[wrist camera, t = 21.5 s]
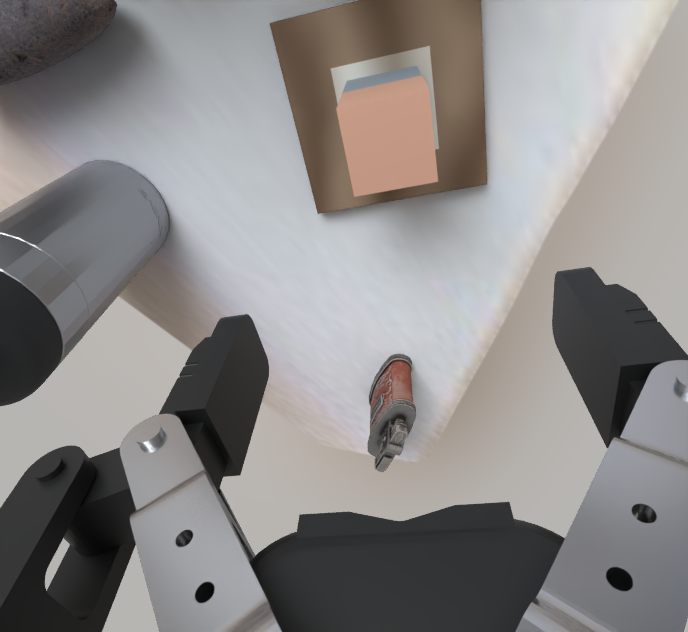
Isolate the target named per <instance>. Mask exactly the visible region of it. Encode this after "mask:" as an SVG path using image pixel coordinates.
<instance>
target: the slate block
mask: <svg viewBox="0 0 688 632" xmlns="http://www.w3.org/2000/svg"><path fill="white" fill-rule="evenodd" d="M416 76H421V74H420V71H419V69H418V67H417V66H413V67H408V68H403V69H399V70H394V71H390V72H385V73H380V74H376V75H371V76H366V77H362V78H357V79H353V80H348V81H347V82H346V85H345V87H344V90H343V93H344V92H349V91H353V90H358V89H362V88H367V87H371V86H376V85H380V84H385V83H389V82H394V81H398V80H403V79H407V78H412V77H416Z"/></svg>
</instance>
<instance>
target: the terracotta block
mask: <svg viewBox="0 0 688 632" xmlns="http://www.w3.org/2000/svg"><path fill="white" fill-rule="evenodd" d="M336 110H337V115H338V120H339V125H340V130H341V135H342V140H343V145H344V149H345V154H346V159H347V164H348V169H349V174H350V179H351V184H352V188H353V193H354V197H357V196H362V195H368V194H373V193H379V192H384V191H390V190H395V189H401V188H406V187H412V186H417V185H423V184H428V183H434V182H438V175H437V165H436V155H435V145H434V134H433V124H432V114H431V104H430V94H429V88H428V86H427V84H426V82H425V80H424V78H423V76H422V75H421V76H416V77H412V78H407V79H403V80H398V81H394V82H389V83H385V84H380V85H376V86H371V87H367V88H362V89H358V90H353V91H349V92H344V93H342V96H341V98H340V101H339V104H338V106H337V109H336Z"/></svg>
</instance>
